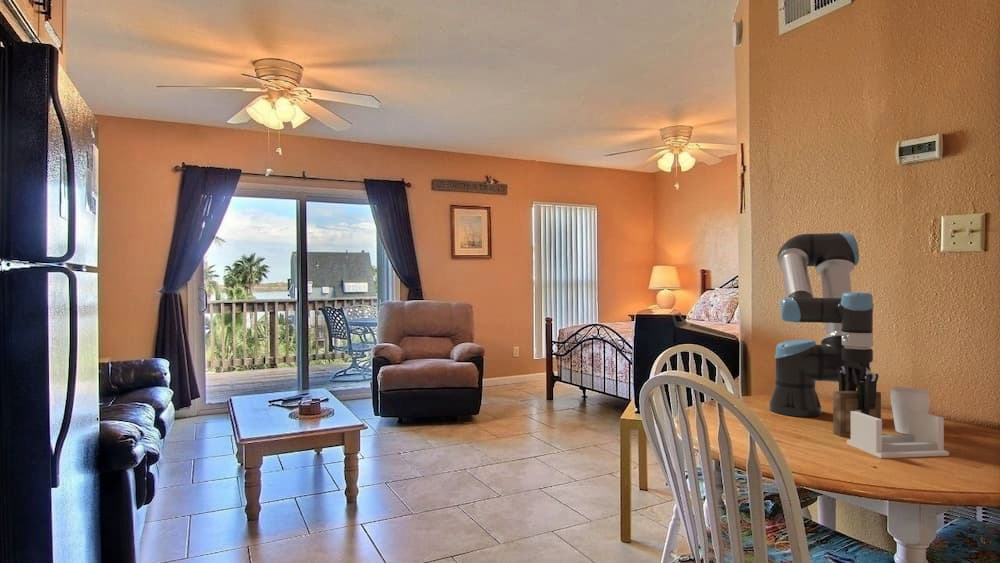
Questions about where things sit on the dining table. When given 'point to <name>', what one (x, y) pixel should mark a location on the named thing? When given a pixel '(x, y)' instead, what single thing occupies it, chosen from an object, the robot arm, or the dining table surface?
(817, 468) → the dining table surface
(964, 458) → the dining table surface
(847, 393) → the door panel
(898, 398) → the cup
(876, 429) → the track frame
